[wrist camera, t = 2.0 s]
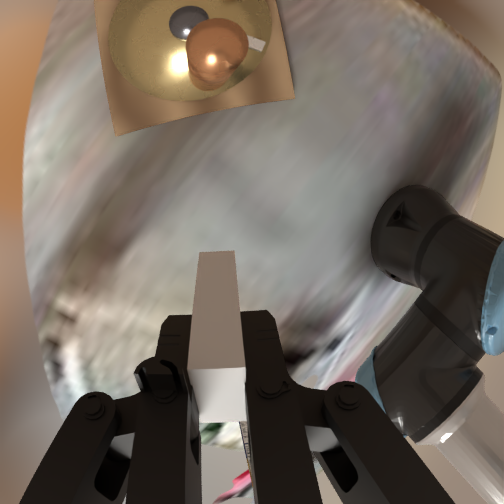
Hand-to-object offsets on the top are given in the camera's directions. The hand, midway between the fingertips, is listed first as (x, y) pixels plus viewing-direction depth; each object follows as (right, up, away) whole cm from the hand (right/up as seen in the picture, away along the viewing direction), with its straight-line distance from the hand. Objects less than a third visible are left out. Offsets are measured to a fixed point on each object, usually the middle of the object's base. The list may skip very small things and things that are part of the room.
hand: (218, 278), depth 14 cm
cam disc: (-5, +25, +12) cm, 28 cm away
